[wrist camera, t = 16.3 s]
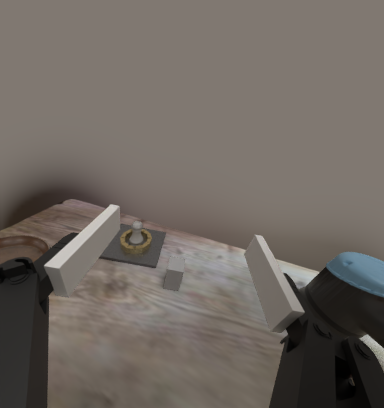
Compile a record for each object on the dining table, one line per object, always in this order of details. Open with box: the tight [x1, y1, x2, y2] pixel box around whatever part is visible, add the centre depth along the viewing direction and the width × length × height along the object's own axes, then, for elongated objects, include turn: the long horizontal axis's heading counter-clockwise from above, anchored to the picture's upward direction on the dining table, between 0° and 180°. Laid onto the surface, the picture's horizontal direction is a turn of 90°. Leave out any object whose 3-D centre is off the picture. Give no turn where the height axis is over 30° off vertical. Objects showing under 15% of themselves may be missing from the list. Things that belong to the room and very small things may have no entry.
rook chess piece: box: [129, 221, 143, 246], centre depth 47 cm, size 4×4×8 cm
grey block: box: [163, 256, 185, 291], centre depth 39 cm, size 4×4×8 cm
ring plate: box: [99, 224, 166, 268], centre depth 49 cm, size 17×15×3 cm
